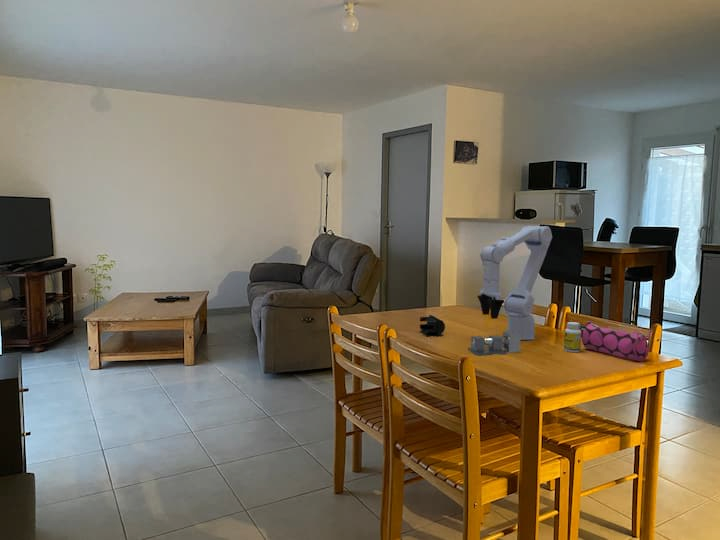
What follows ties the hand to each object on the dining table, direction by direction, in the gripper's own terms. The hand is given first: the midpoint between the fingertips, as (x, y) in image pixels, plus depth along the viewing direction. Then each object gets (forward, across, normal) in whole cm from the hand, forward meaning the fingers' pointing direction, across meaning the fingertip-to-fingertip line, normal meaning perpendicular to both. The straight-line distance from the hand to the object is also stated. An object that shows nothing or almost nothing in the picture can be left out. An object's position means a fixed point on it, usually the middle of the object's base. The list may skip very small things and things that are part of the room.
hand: (489, 316), depth 198 cm
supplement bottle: (+10, +15, +24) cm, 30 cm away
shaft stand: (+10, +12, -3) cm, 16 cm away
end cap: (+10, -18, -16) cm, 26 cm away
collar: (+10, +12, +3) cm, 16 cm away
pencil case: (+10, +22, +35) cm, 43 cm away
